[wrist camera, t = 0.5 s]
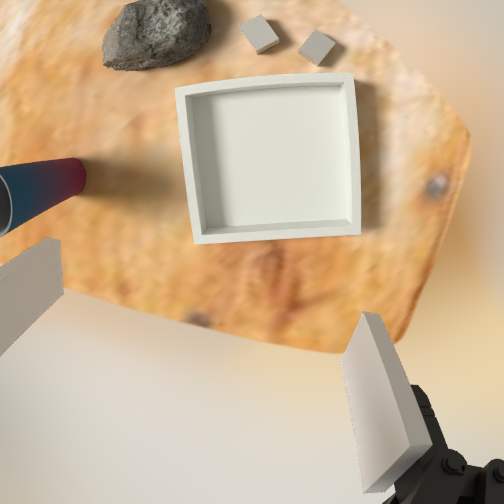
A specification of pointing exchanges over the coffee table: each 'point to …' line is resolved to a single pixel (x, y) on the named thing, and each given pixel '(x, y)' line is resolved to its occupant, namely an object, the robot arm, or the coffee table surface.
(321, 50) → the chip
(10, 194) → the cup
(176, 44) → the rock
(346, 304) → the coffee table surface
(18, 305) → the robot arm
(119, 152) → the coffee table surface
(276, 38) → the grey small block
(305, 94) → the bin
